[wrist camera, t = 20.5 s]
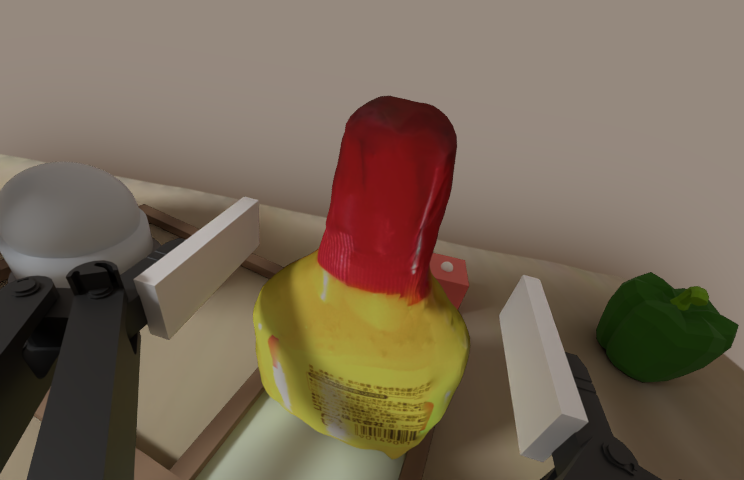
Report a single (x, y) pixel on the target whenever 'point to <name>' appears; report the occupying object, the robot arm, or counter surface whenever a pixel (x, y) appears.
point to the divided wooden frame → (264, 427)
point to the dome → (69, 221)
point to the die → (450, 276)
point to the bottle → (371, 291)
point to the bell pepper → (662, 329)
